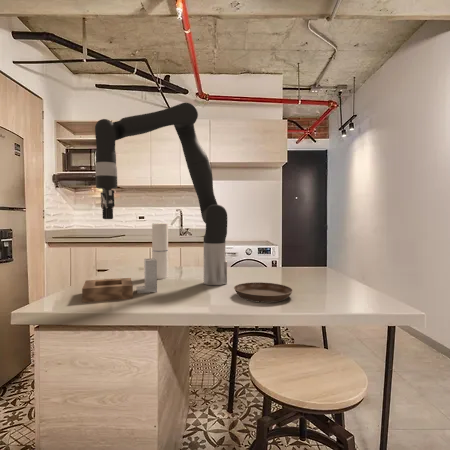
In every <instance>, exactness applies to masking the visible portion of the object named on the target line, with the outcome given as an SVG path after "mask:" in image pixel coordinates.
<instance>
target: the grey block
mask: <svg viewBox="0 0 450 450" xmlns="http://www.w3.org/2000/svg"><path fill="white" fill-rule="evenodd" d="M143 263H144V268H143V269H144V273H143V275H144V285H138V286H136V292H137V293H136V294H138V293H142V294H150V292H155V293H158V279H157V260H156V259H155V258H144V261H143Z"/></svg>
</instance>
